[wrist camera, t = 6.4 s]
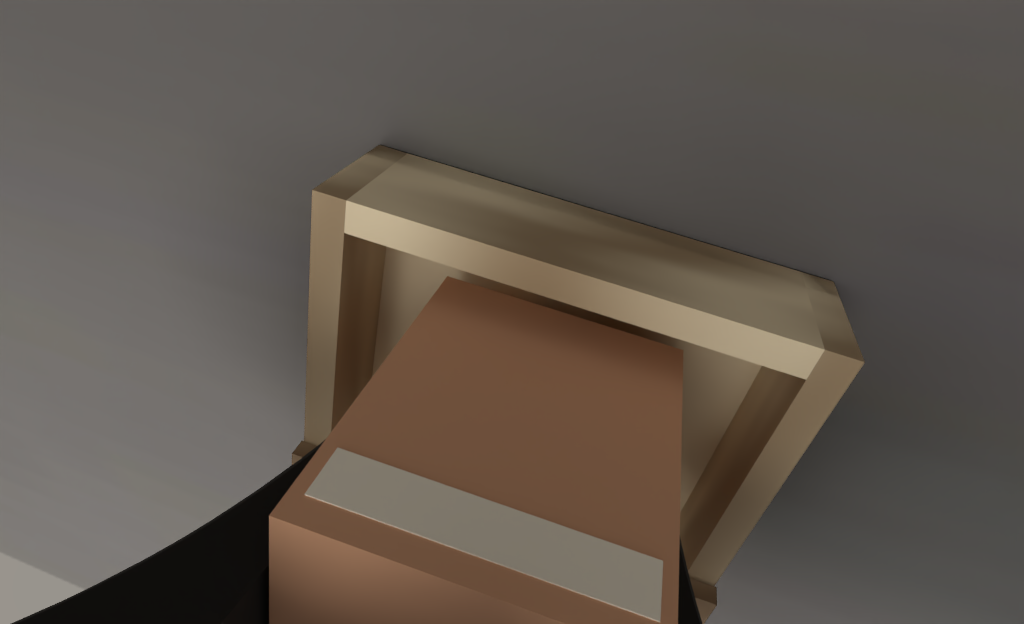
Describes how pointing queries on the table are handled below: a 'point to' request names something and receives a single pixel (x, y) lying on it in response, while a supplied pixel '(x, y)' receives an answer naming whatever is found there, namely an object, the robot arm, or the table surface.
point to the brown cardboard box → (492, 478)
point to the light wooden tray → (592, 296)
